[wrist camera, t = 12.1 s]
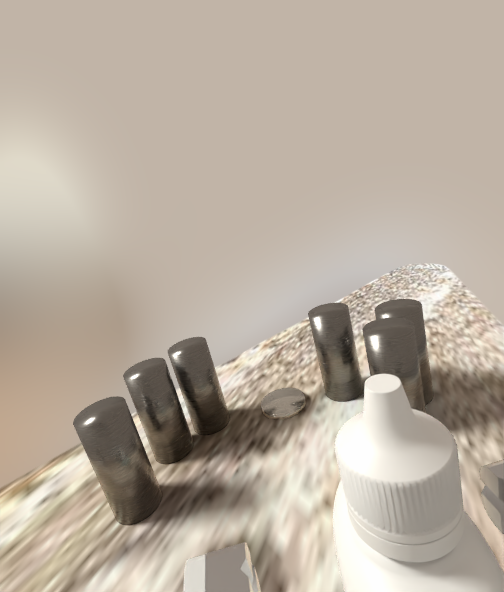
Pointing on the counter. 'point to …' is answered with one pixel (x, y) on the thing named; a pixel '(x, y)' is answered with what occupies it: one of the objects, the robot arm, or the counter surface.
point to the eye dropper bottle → (404, 503)
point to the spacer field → (211, 405)
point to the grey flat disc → (283, 403)
